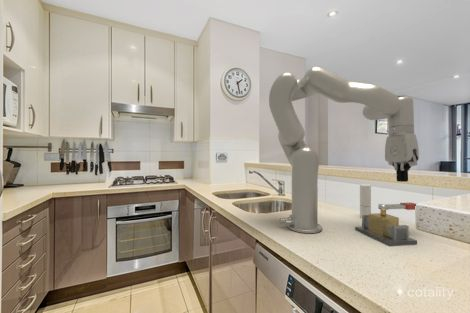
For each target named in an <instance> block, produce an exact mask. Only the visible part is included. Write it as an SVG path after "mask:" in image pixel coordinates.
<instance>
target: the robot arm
mask: <svg viewBox="0 0 470 313" xmlns="http://www.w3.org/2000/svg"><path fill="white" fill-rule="evenodd" d="M316 94H319V95H321V96H323V97H325V98H327V99H329V100H332V101H333V102H335V103H341V104H342V103H356V104H361V105H364V106H363V109H362V115H363V116H364V118H366V119H367V120H370V121H379V120H385V119H387V124H388V130H387V134H388V136H387V137H386V140H385V145H384V146H385V148H384V160H385V162H387V164H388V165H389V166H392V167H393V168H394V170H395V171H396V173H395V174H396V182H401V183H402V182H405V183H406V182H409V171H410V170H411V168H412V167H414V166H418V161H419V157H420V150H419V144H418V138H417V134H415V119H414V118H415V117H414V116H415V114H414V113H415V112H414V111H415V109H414V99H413V98H412V97H410V96H400V97H399V96H397V95H396V94H394V92H392V91H390V90H388V89H385V88H383V87H381V86H378V85H375V84H371V83H366V82H365V83H364V82H359V81H351V80H349V79H347V78H344V77H342V76H340V75H338V74H336V73H333V72H332V71H330V70H327V69H326V68H323V67H320V66H313V67H310V68H309V69H308V70H307V71H306V72H305V74H304V75H303V77H302V78H298V79H297V77H296V76H295V75H294V74H293V73H292V72H287V71H286V72H283V73H281V74H280V75H278V77H276V79H275V80H274V81H273V83H272V85H271V87H270V91H269V95H268V104H269V105H268V106H269V110H270V113H271V115H272V118H273V121H274V122H275V126H276V127H277V129H278V140H279V143H280V146H281V148H282V150H283V152H284V154H285V156H286V158H287V160H288V162H289V164H290V166H291V168H292V170H291V214H289V215H288V217H280V218H279V223H280V224H285V225H287V228H288V229H289V230H291V231H293V232H297V233H302V234H317V233H320V232H322V231H323V226H322V225H321V224H319V220H318V216H319V215H318V214H319V212H318V211H319V210H318V203H319V202H318V201H319V200H318V196H319V194H318V193H319V191H318V190H319V189H318V180H319V179H318V178H319V177H318V176H319V169H320V168H319V167H320V157H319V154H318V152H317V151H316V149H314V148H313V147H311V146H308V145H306V143H305V140H304V138H305V129H304V127H303V125H302V123H301V121H300V119H299V117H298V115H297V113H296V111H295V108H294V105H293V102H295V101H298V100H302V99H305V98H308V97H311V96H314V95H316Z"/></svg>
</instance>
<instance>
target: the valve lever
mask: <svg viewBox="0 0 470 313" xmlns="http://www.w3.org/2000/svg"><path fill="white" fill-rule="evenodd" d="M416 204H417V203H416V202H415V203H414V202H400V203H388V204H384V203H378V209H379V210H386V211H388V210H407V211H412V210H413V211H414V210H415V206H416ZM415 211H416V210H415Z"/></svg>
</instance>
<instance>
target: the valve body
mask: <svg viewBox="0 0 470 313" xmlns="http://www.w3.org/2000/svg"><path fill="white" fill-rule="evenodd" d="M379 210H380V212H378V213H371V214H369V215H362V218H361V223H362V225H361V226H354V230H355V231H356V232H358V233H361V234H362V235H365V236H367V237H369V238H372V239H374V240H375V241H377V242H379V243H381V244H384V245H386V246H388V247H394V246H398V247H399V246H414V245H418V240H417V239H414V238H412V237H409V236H410V229H409V227H410V226H409V225H406V224H402V225H401V224H400V218H399V217H398V216H396V215H391V214H388V213H387V210H381V209H379Z"/></svg>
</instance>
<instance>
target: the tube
mask: <svg viewBox="0 0 470 313" xmlns="http://www.w3.org/2000/svg"><path fill="white" fill-rule="evenodd" d="M371 188H372V184H362V183H361V184H359V218H360V219H362V215H369V214H372V189H371Z"/></svg>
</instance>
